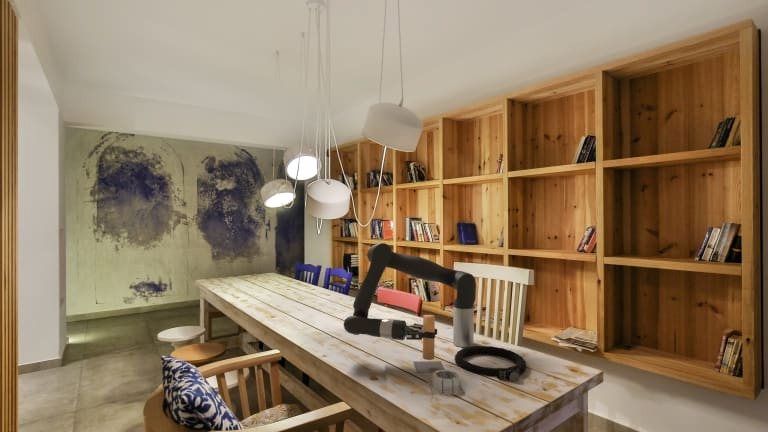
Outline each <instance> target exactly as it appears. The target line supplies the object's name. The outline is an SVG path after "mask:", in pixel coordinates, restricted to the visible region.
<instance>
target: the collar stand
mask: <svg viewBox="0 0 768 432" xmlns="http://www.w3.org/2000/svg"><path fill="white" fill-rule="evenodd" d="M431 374H432V379H427V380H426V381H427V385H428V387H429V390H430V393H431V395H432V396H433V395H434V396H437V395H438V396H439V395H442V396H446V395H447V396H448V395H466V392H465V391H464V389H463V387H462V385H461V382H460V379H459V377H460V376H459V374H458V373H457V372H455V371H452V370H449V369H445V370H437V371H435V372H433V373H431Z"/></svg>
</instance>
